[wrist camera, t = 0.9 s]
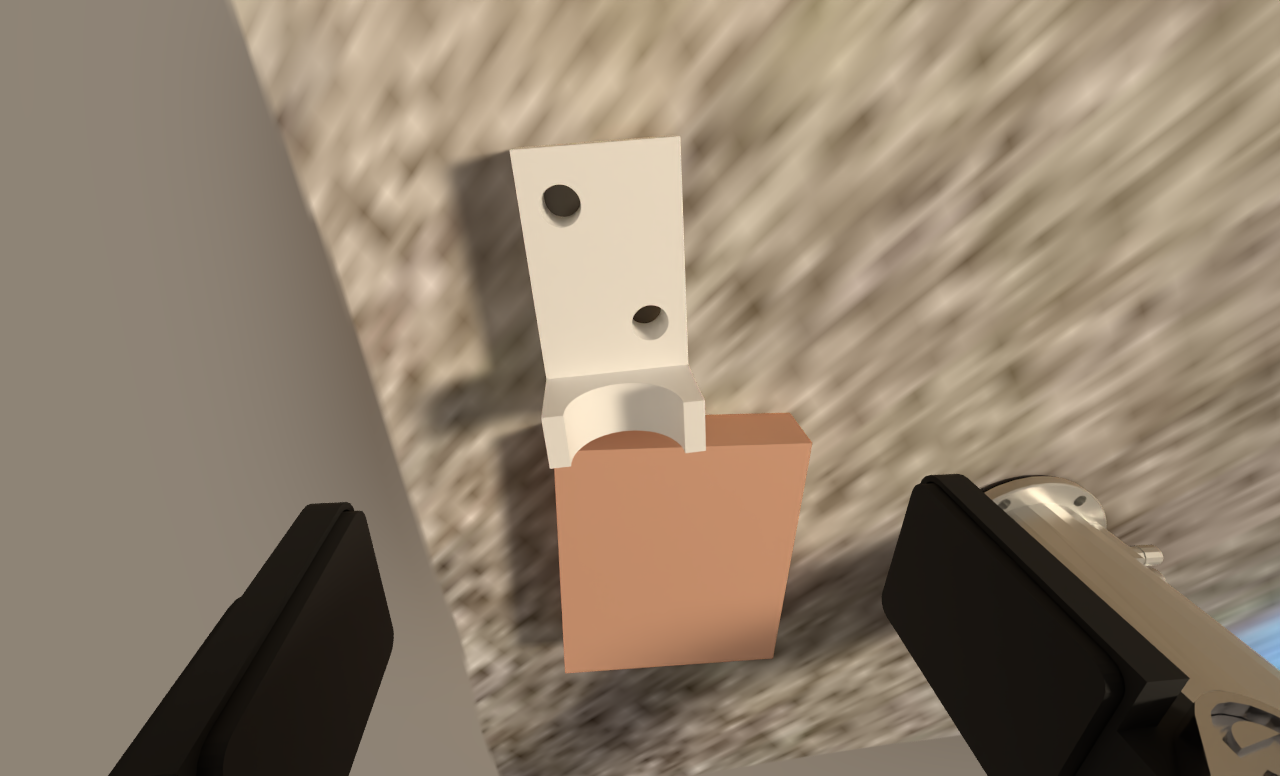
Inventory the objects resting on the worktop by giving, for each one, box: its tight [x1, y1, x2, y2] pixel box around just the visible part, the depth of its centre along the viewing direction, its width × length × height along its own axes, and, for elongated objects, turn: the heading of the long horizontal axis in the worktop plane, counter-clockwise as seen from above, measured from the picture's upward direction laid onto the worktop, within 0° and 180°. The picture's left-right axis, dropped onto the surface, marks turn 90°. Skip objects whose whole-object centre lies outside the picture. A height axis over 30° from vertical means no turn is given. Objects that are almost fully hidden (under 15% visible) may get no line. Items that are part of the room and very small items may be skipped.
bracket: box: [510, 136, 706, 469], centre depth 25 cm, size 13×7×8 cm, turn 4°
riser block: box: [554, 413, 812, 673], centre depth 34 cm, size 14×17×4 cm
